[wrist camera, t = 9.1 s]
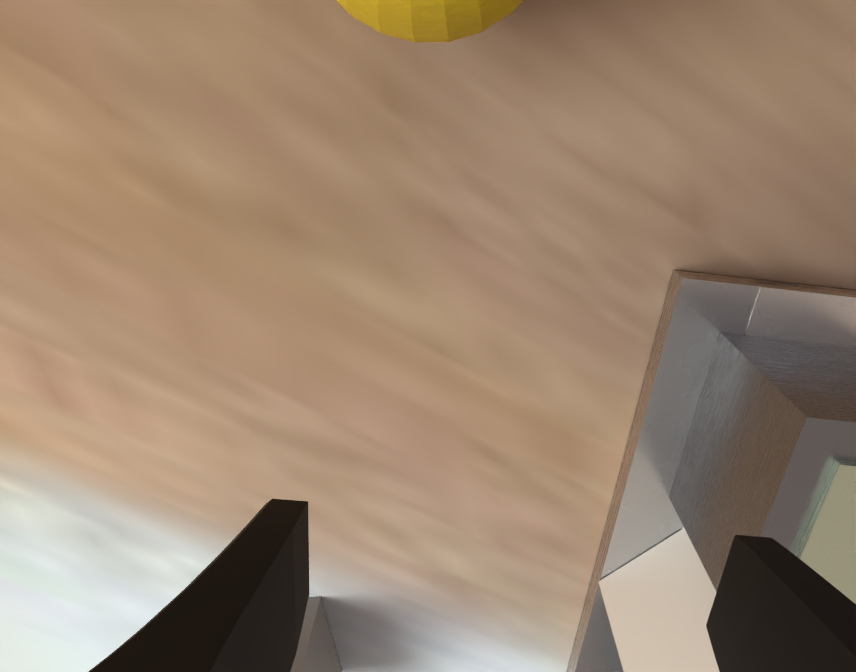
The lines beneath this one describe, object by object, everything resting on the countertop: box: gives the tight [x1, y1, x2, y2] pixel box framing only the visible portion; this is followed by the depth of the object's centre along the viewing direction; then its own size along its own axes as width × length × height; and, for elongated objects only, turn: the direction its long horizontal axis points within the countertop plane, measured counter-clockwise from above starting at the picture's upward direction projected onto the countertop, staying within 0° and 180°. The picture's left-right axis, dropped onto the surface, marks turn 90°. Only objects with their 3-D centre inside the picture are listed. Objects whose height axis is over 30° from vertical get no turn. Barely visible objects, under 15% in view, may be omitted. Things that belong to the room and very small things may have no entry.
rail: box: [567, 270, 856, 672], centre depth 21 cm, size 8×24×6 cm, turn 174°
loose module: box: [599, 528, 720, 672], centre depth 20 cm, size 4×5×6 cm
